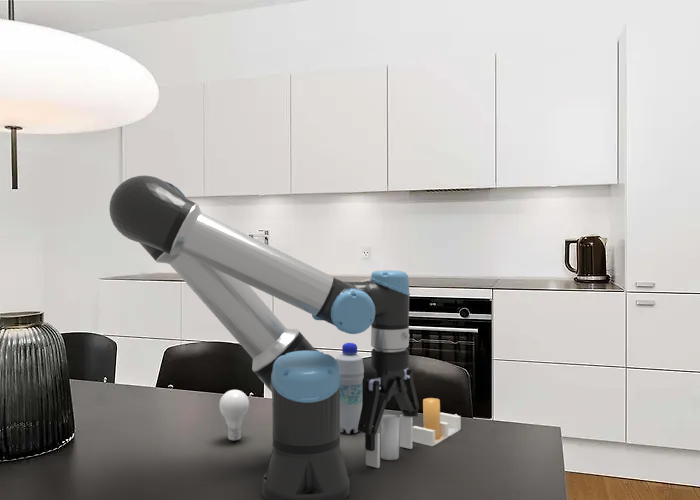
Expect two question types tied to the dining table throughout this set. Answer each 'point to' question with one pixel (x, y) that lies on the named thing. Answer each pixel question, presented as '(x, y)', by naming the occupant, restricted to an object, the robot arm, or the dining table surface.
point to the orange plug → (432, 415)
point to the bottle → (350, 387)
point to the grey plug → (390, 437)
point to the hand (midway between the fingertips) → (390, 456)
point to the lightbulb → (234, 411)
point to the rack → (447, 428)
